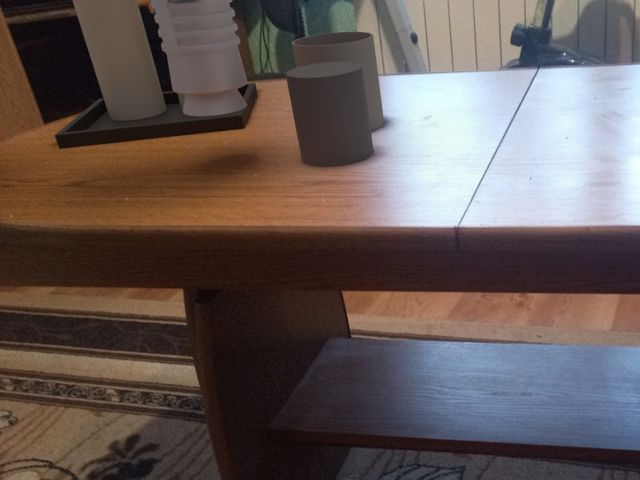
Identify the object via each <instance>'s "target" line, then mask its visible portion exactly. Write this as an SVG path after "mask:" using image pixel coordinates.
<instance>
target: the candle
mask: <svg viewBox="0 0 640 480" xmlns="http://www.w3.org/2000/svg"><path fill="white" fill-rule="evenodd" d="M232 2H233V0H151V1H150V6H151V9H154V12H155V14H154V16H153V18H154V22H155V23H156V24H158V27H159V28H158V30H157V33H158V38H161V40H162V42H161V44H160V46H161V51H162V52H164V53H165V54H166V58H167V64H168V70H169V77H170V83H171V88H172V91H174V92H176V93H179V94H186V96H185V101H184V107H183V113H184V114H186V115H190V116H214V115H222V114H227V113H232V112H236V111H239V110H242V109H244V108H245V107H246V106H247V104H246V102H245V101H244V99H243V97H242V96H241V94H240V93H239V91H238V90H237V89H238V88H241V87H243V86H245V85H246V84H248V78H247V75H246V72H245V71H246V70H245V67H244V64H243V60H242V57H241V53H240V49H239V45H240V44H241V38H240V37H239V36H238V35H237V34H236V32H237V31H238V30H239V28H238V24H237V23H236V22H235V21H234V20H233V18H234V17H235V16H236V12H235V10H234V8H233V7H231V4H230V3H232Z"/></svg>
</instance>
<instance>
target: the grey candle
mask: <svg viewBox="0 0 640 480" xmlns="http://www.w3.org/2000/svg"><path fill="white" fill-rule="evenodd" d="M285 78H286V83H287V88H288V94H289V95H288V96H289V100H290V105H291V110H292V115H293V120H294V127H295V132H296V137H297V142H298V148H299V153H300V158H301V162H302V163H303V164H305V165H307V166H311V167H316V168H317V167H318V168H333V167H334V168H335V167H343V166H348V165H353V164H356V163H359V162H363V161H365V160H367V159H369V158H371V157H372V156H373V155H374V153H375V150H374V143H373V136H372V135H373V134H372V131H371V127H370V120H369V112H368V105H367V98H366V90H365V83H364V75H363V68H362V65H361V64H359V63H355V62H326V63H317V64H310V65H305V66H301V67H294V68H292V69H289V70H288V71H286V72H285Z"/></svg>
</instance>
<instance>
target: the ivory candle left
mask: <svg viewBox="0 0 640 480" xmlns="http://www.w3.org/2000/svg"><path fill="white" fill-rule="evenodd" d="M72 3H73V7H74V10H75V13H76V17H77V19H78V22H79V25H80V29H81V32H82V34H83V38H84V41H85V44H86V47H87V50H88V53H89V57H90V59H91V63H92V66H93V69H94V72H95V73H94V74H95V76H96V79H97V81H98V82H97V83H98V86H99V88H100V92H101V95H102V97H103V98H104V101H105V104H106V107H107V110H108V114H109V117H110V119H111V120H115V121H132V120H140V119H145V118H150V117H154V116H157V115H160V114H162V113H164V112H166V111H167V108H166V104H165V101H164V97H163V94H162V92H163V90H162V87H161V83H160V79H159V76H158V72H157V68H156V64H155V61H154V58H153V54H152V50H151V47H150V43H149V40H148V36H147V33H146V28H145V25H144V20H143V18H142V15H141V11H140V7H139V4H138V0H72Z"/></svg>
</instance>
